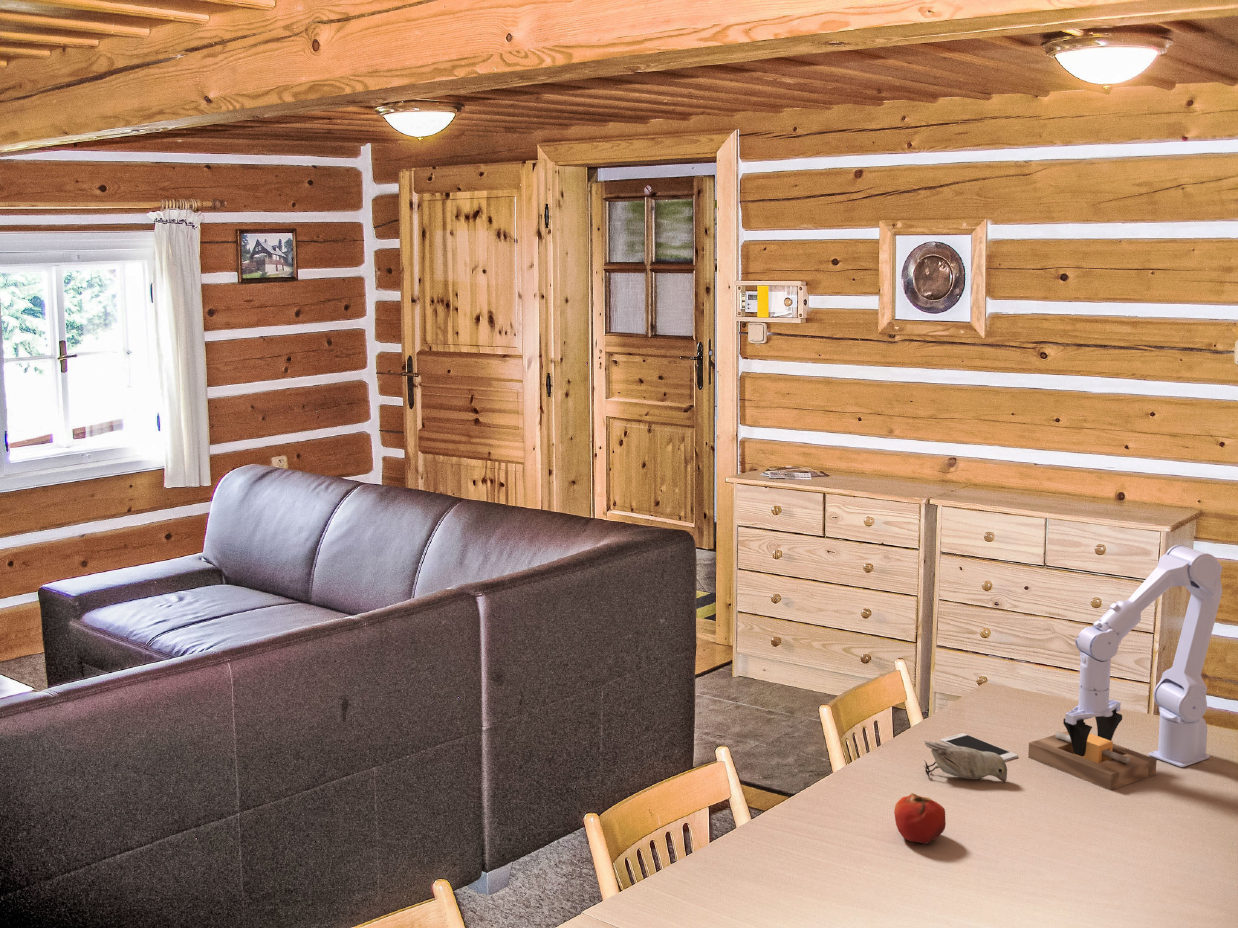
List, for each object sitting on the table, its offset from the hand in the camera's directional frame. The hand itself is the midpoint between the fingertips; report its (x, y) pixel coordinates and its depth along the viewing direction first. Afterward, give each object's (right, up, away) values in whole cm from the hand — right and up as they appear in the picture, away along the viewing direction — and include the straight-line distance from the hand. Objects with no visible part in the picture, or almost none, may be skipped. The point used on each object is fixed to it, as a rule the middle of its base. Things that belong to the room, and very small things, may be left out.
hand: (1091, 750), depth 255 cm
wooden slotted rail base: (0, -3, 0) cm, 3 cm away
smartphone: (-20, -3, +10) cm, 23 cm away
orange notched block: (0, -2, 0) cm, 2 cm away
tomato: (-43, -9, -31) cm, 53 cm away
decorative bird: (-27, -5, -5) cm, 28 cm away
